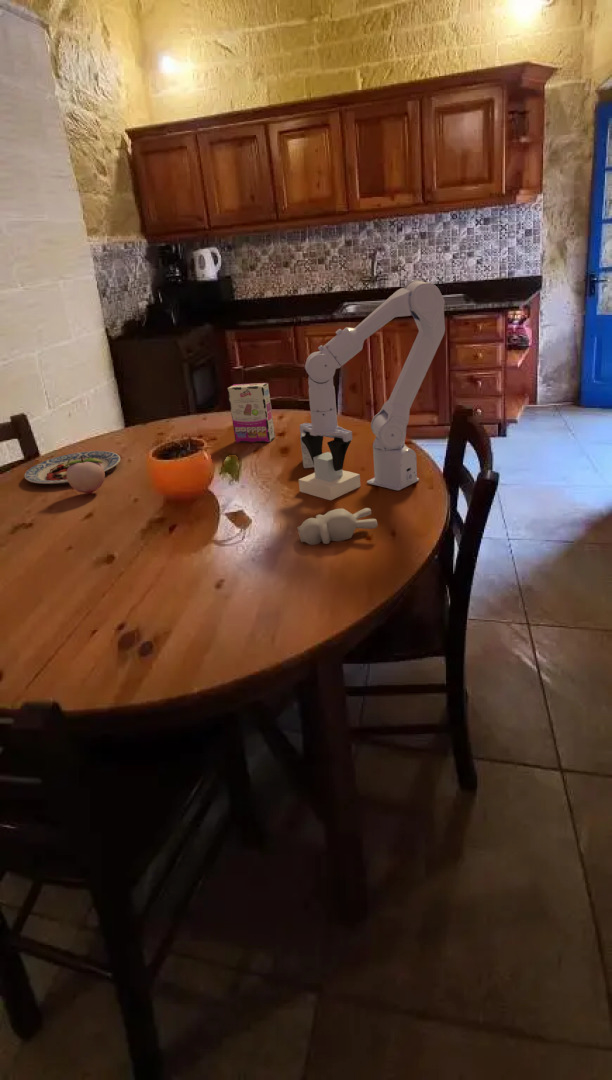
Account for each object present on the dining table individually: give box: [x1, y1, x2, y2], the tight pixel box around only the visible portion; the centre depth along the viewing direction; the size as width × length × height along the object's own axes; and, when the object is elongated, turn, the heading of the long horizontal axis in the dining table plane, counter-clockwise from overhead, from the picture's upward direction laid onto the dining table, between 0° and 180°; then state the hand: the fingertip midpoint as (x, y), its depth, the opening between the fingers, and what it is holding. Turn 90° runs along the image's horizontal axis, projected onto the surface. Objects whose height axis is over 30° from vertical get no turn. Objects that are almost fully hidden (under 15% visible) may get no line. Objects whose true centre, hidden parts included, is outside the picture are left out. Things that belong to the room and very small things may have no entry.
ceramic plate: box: [24, 450, 121, 485], centre depth 183 cm, size 26×26×3 cm
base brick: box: [298, 469, 361, 501], centre depth 152 cm, size 10×10×3 cm
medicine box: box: [300, 433, 314, 469], centre depth 169 cm, size 8×4×9 cm, turn 179°
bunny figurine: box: [297, 507, 379, 546], centre depth 128 cm, size 10×5×15 cm
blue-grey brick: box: [313, 451, 343, 482], centre depth 151 cm, size 4×4×5 cm
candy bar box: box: [227, 382, 276, 444], centre depth 191 cm, size 11×5×16 cm, turn 73°
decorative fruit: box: [64, 456, 106, 495], centre depth 164 cm, size 9×8×10 cm
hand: (328, 467), depth 151 cm, fingers open, 6 cm apart
